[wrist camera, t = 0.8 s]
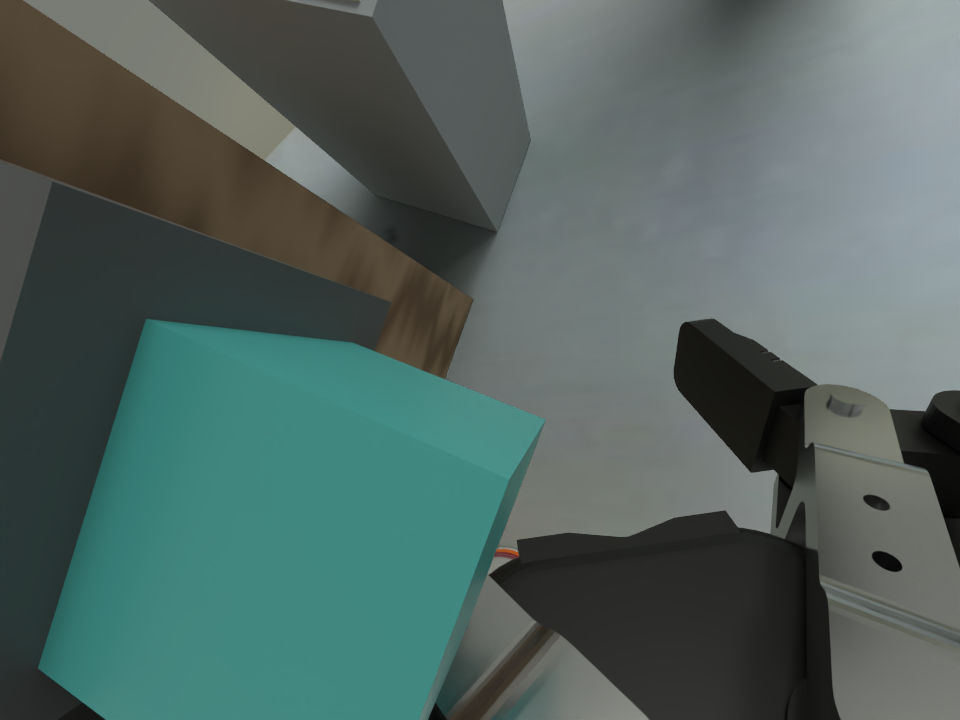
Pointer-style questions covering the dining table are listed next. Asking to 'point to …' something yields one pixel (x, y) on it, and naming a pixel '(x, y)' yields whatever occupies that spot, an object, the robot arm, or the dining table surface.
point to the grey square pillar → (385, 90)
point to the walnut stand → (200, 179)
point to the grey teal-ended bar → (225, 480)
